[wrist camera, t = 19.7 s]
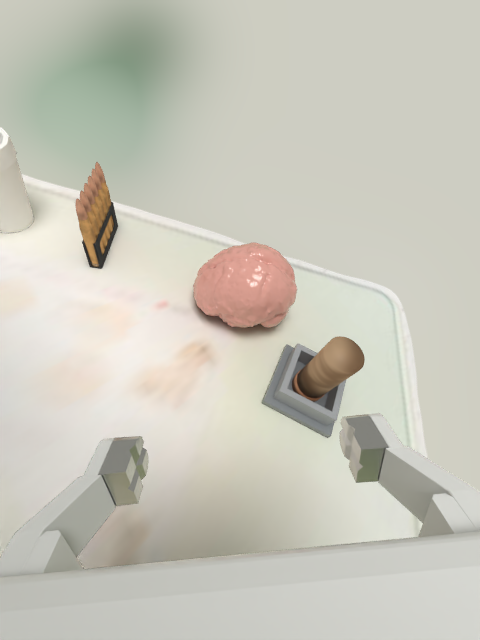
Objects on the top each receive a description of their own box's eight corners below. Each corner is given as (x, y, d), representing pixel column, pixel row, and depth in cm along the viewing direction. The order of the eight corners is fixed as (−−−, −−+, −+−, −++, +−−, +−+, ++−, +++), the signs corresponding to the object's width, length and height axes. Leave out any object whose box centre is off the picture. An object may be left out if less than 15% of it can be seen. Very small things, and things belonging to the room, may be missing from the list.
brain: (199, 341, 47) (170, 294, 37) (214, 283, 54) (193, 231, 44) (297, 343, 43) (292, 291, 33) (300, 281, 50) (296, 223, 40)
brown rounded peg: (287, 393, 39) (322, 361, 30) (296, 366, 42) (331, 329, 33) (317, 408, 39) (362, 380, 30) (325, 380, 42) (367, 346, 33)
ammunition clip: (101, 269, 46) (82, 204, 36) (89, 267, 45) (66, 202, 35) (118, 225, 51) (105, 160, 41) (107, 224, 51) (92, 157, 41)
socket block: (261, 402, 39) (269, 393, 36) (284, 347, 45) (293, 334, 41) (327, 437, 38) (342, 431, 35) (342, 376, 44) (356, 366, 41)
